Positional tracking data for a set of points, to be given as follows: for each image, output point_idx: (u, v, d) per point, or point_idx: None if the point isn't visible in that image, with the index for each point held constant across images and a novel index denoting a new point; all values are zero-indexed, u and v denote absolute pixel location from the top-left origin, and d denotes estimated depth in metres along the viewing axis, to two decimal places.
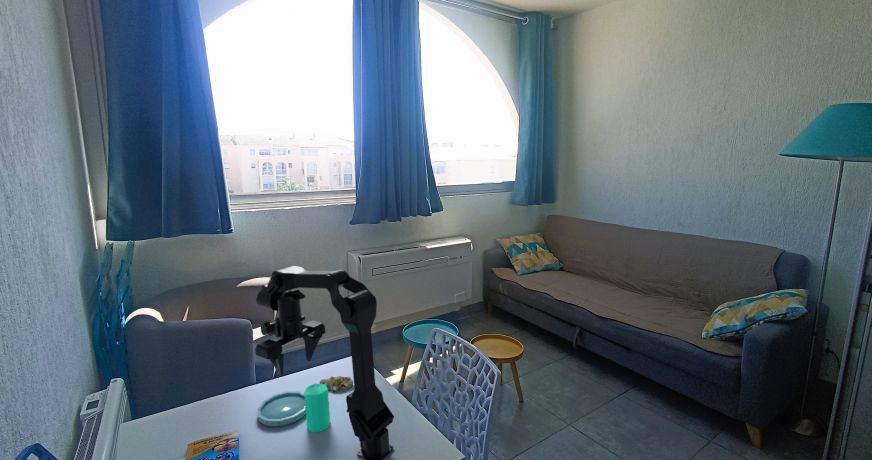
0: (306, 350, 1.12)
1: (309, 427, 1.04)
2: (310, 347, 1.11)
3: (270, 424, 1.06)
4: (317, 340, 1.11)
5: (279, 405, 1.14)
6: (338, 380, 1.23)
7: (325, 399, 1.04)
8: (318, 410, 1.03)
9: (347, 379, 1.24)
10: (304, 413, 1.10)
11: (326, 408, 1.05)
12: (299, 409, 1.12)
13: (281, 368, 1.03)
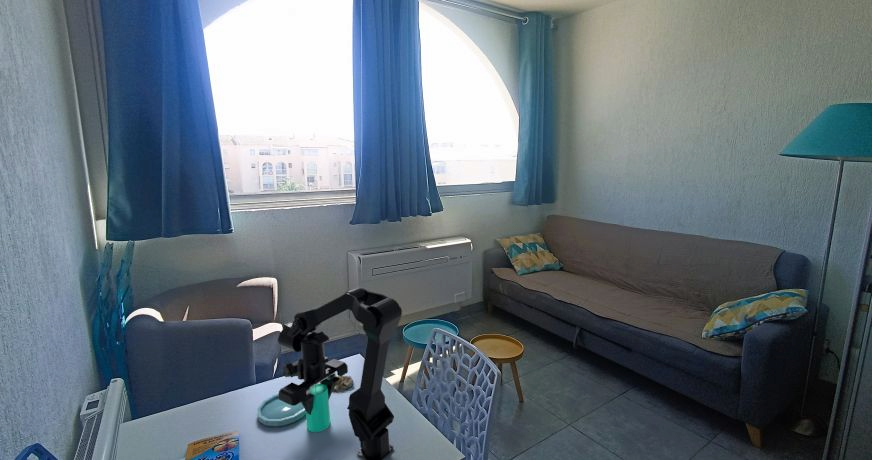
0: None
1: (309, 427, 1.04)
2: None
3: (270, 424, 1.06)
4: (334, 384, 1.07)
5: (279, 405, 1.14)
6: None
7: (325, 399, 1.04)
8: (318, 410, 1.03)
9: (347, 378, 1.25)
10: (304, 413, 1.10)
11: (326, 408, 1.05)
12: (299, 409, 1.12)
13: (311, 408, 1.02)
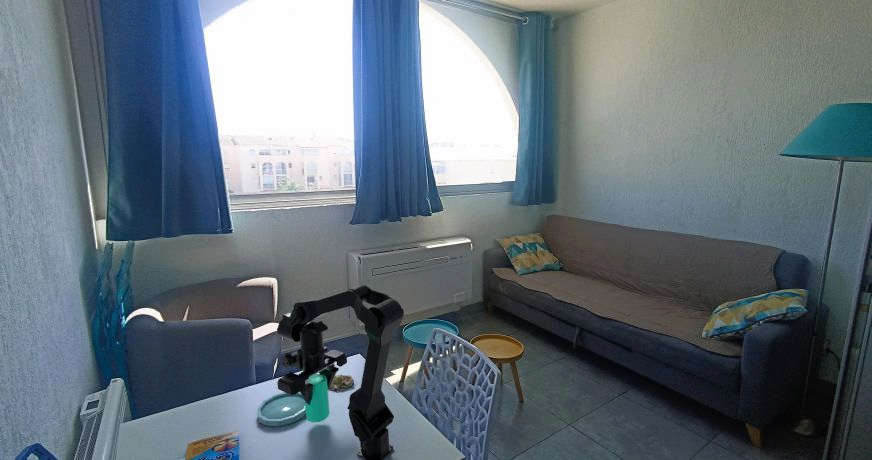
0: None
1: (308, 417, 1.04)
2: None
3: (270, 424, 1.06)
4: (333, 374, 1.06)
5: (279, 405, 1.14)
6: (339, 378, 1.24)
7: (324, 389, 1.04)
8: (317, 401, 1.03)
9: (348, 378, 1.25)
10: (304, 413, 1.10)
11: (325, 398, 1.04)
12: (299, 409, 1.12)
13: (310, 398, 1.02)
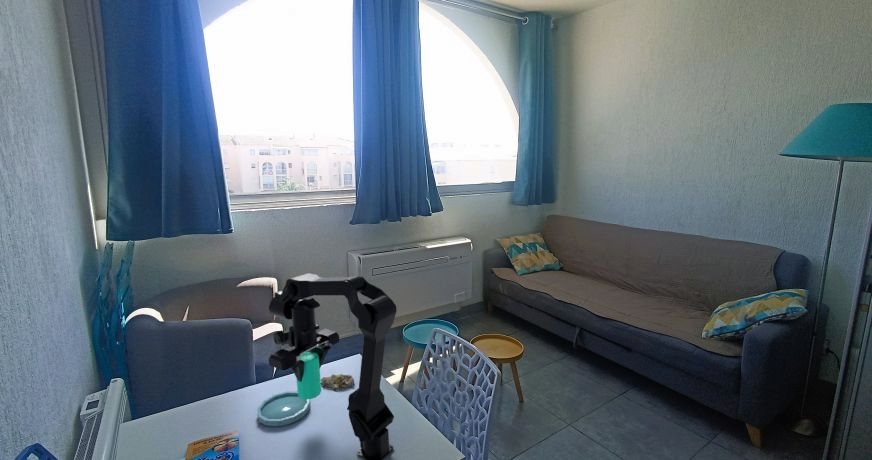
0: None
1: (300, 395, 1.04)
2: None
3: (270, 424, 1.06)
4: (325, 352, 1.07)
5: (279, 405, 1.14)
6: (339, 378, 1.25)
7: (316, 367, 1.04)
8: (309, 378, 1.03)
9: (348, 377, 1.26)
10: (304, 413, 1.10)
11: (317, 376, 1.05)
12: (299, 409, 1.12)
13: (301, 375, 1.02)
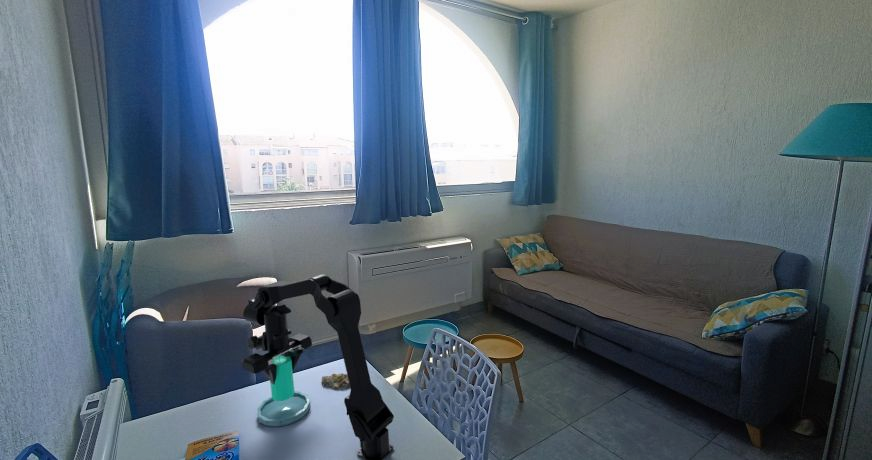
0: None
1: (273, 396, 1.09)
2: None
3: (270, 424, 1.06)
4: (298, 356, 1.12)
5: (279, 405, 1.14)
6: (340, 377, 1.25)
7: (288, 370, 1.10)
8: (281, 380, 1.08)
9: None
10: (304, 413, 1.10)
11: (289, 378, 1.10)
12: (299, 409, 1.12)
13: (274, 378, 1.07)
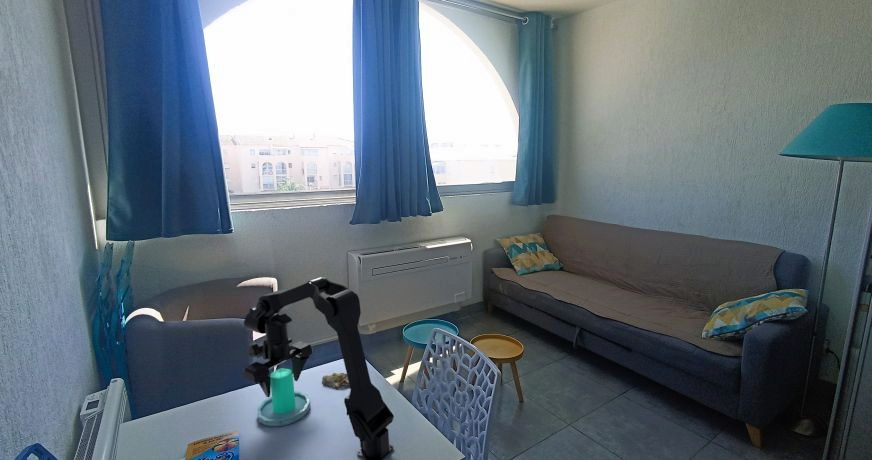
0: (293, 371, 1.15)
1: (274, 409, 1.10)
2: (297, 368, 1.14)
3: (270, 424, 1.06)
4: (304, 361, 1.14)
5: None
6: (340, 376, 1.25)
7: (289, 383, 1.10)
8: (282, 393, 1.09)
9: None
10: (304, 413, 1.10)
11: (290, 391, 1.11)
12: (299, 409, 1.12)
13: (268, 390, 1.06)
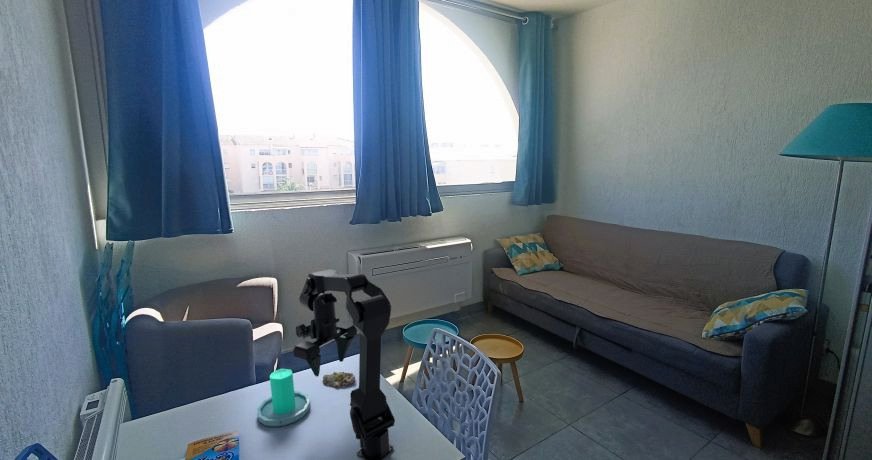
0: (338, 351, 1.15)
1: (274, 409, 1.10)
2: (343, 348, 1.14)
3: (270, 424, 1.06)
4: (349, 341, 1.14)
5: None
6: (340, 376, 1.26)
7: (289, 383, 1.10)
8: (282, 394, 1.09)
9: (349, 375, 1.27)
10: (304, 413, 1.10)
11: (290, 392, 1.11)
12: (299, 409, 1.12)
13: (318, 369, 1.06)
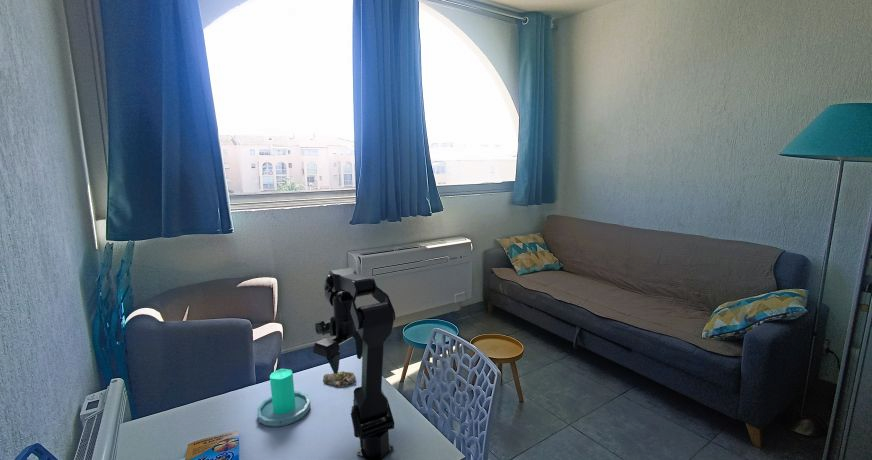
0: (357, 348, 1.16)
1: (274, 409, 1.10)
2: (361, 346, 1.15)
3: (270, 424, 1.06)
4: None
5: None
6: (341, 375, 1.26)
7: (289, 383, 1.10)
8: (282, 394, 1.09)
9: (350, 374, 1.27)
10: (304, 413, 1.10)
11: (290, 392, 1.11)
12: (299, 409, 1.12)
13: (337, 366, 1.06)
